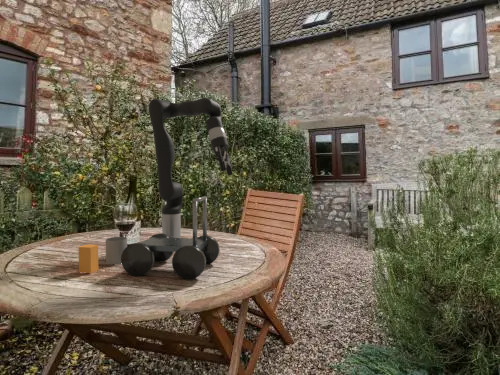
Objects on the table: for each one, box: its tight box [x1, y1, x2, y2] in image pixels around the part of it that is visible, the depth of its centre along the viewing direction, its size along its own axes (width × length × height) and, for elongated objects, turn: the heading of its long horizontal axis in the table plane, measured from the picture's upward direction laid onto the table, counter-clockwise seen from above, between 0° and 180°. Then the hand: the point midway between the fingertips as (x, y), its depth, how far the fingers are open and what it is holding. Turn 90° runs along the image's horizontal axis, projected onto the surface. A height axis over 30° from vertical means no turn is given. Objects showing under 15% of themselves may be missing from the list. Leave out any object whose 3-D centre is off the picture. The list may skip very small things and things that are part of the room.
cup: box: [105, 236, 128, 265], centre depth 137 cm, size 8×8×10 cm
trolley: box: [121, 195, 221, 281], centre depth 127 cm, size 32×21×29 cm
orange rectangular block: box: [78, 244, 99, 274], centre depth 124 cm, size 5×4×10 cm
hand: (227, 173), depth 140 cm, fingers open, 8 cm apart
